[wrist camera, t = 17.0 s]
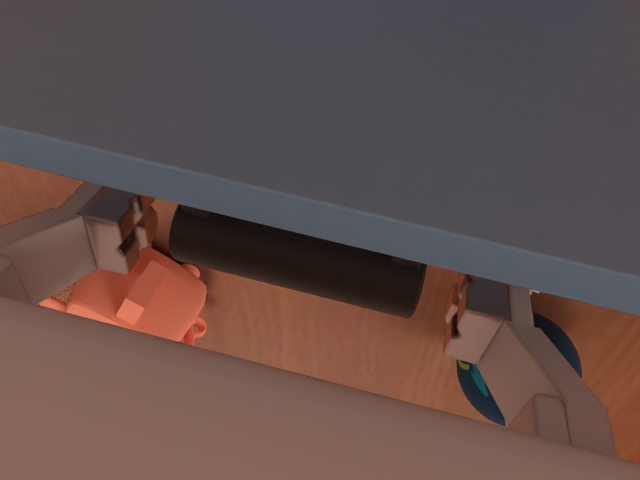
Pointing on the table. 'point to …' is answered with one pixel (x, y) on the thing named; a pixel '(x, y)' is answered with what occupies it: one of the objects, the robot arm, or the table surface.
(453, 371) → the table surface
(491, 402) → the christmas ornament
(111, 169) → the lid
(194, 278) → the teapot
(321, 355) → the table surface
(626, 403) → the table surface
